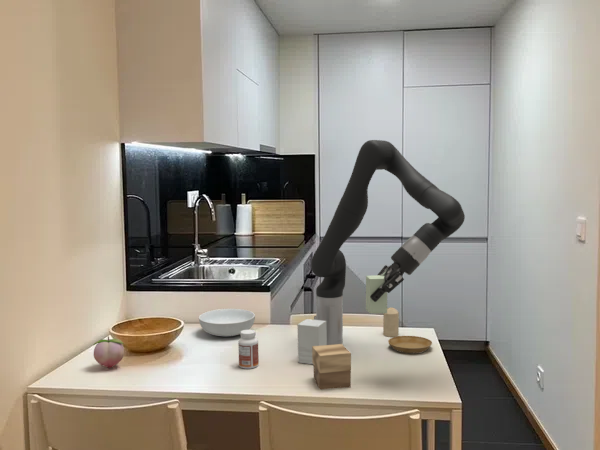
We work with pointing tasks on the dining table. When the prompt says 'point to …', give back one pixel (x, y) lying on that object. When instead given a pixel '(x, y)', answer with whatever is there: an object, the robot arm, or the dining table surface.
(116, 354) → the decorative fruit
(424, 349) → the plant saucer
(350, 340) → the dining table surface
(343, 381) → the walnut block
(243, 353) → the pill bottle
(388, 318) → the candle
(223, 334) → the serving bowl
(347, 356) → the oak block
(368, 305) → the sage block
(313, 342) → the supplement box
